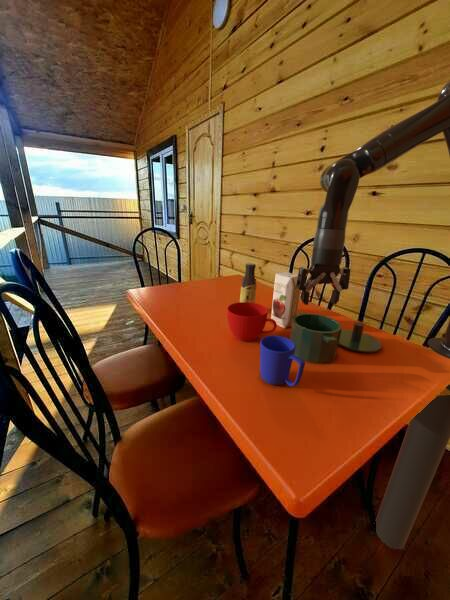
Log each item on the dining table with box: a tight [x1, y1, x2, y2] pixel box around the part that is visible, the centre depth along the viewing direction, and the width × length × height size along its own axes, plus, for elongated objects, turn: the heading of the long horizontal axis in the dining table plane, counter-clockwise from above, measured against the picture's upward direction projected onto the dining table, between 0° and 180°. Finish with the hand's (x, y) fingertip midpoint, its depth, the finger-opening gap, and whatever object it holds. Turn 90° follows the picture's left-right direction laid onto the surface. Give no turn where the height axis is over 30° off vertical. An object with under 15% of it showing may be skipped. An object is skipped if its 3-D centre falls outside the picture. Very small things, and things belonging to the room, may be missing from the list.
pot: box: [289, 311, 343, 364], centre depth 76 cm, size 14×19×10 cm
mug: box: [259, 335, 306, 387], centre depth 61 cm, size 8×12×10 cm
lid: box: [338, 321, 382, 353], centre depth 82 cm, size 15×15×7 cm
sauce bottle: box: [239, 262, 257, 303], centre depth 104 cm, size 6×6×20 cm
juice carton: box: [270, 271, 302, 329], centre depth 93 cm, size 8×9×19 cm
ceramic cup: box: [226, 301, 278, 342], centre depth 82 cm, size 13×17×10 cm
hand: (319, 303), depth 72 cm, fingers open, 8 cm apart
